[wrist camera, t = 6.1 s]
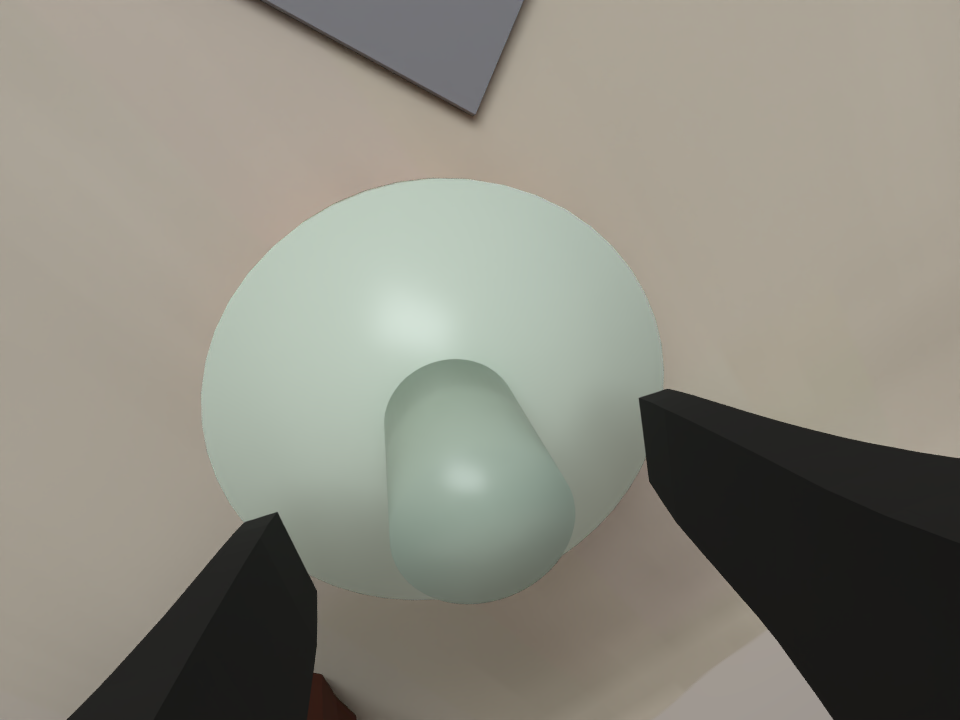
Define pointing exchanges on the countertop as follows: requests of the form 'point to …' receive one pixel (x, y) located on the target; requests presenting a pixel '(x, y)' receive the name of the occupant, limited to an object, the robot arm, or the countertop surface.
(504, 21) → the mat
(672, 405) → the robot arm
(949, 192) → the countertop surface
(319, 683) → the muffin
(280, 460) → the lid
